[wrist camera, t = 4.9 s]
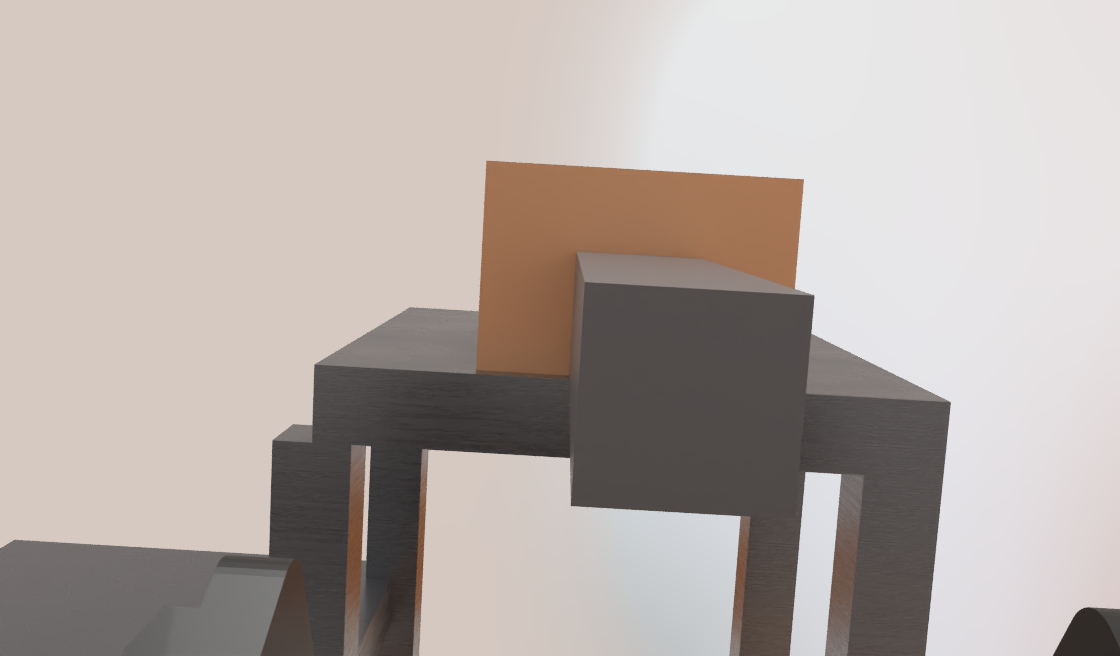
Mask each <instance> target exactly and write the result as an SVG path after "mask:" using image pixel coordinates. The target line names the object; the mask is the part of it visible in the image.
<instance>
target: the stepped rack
mask: <svg viewBox="0 0 1120 656" xmlns="http://www.w3.org/2000/svg"><path fill="white" fill-rule="evenodd" d="M478 320H479V312H477V311H461V310H444V309H427V308H408V309H407V310H405V311H403V312H402V313H400V314H398V315H397V316H395V317H393V318H392V319H390V320H388V321H387V322H385V323H383V324H382V325H380V326H378V327H377V328H375V329H374V330H372V331H370V332H368V333H367V334H365V335H363V336H362V337H360V338H358V339H357V340H355V341H353V342H351V343H350V344H348V345H347V346H345V347H343V348H341V349H340V350H338V351H336V352H335V353H333V354H331V355H330V356H328V357H326V358H325V359H323V360H321V361H320V362H318V363H316V364H315V368H314V397H313V426H312V425H311V426H310V425H294V424H293V425H292V426H290V427H289V428H288V429H287V430H285V431H284V432H283V433H281V434H280V435H279V436H277V437H276V438H275V439H274V440H273V444H272V478H271V511H270V546H269V555H258V554H243V553H226V552H209V551H192V550H175V549H158V548H141V547H125V546H124V547H123V546H108V545H91V544H90V545H89V544H73V543H57V542H40V541H23V540H14V541H12V542H10V543H9V544H7V545H5V546H4V547H2V548H0V656H121V655H122V653H123V651H124V648H125V647H126V646H127V645H128V644H129V643H130V642H131V641H132V640H133V639H134V638H135V637H136V636H137V635H138V634H139V632H140V631H141V630H142V629H143V628H144V627H145V626H146V625H147V624H148V623H149V622H150V621H151V620H152V619H153V618H154V617H155V615H156V614H157V613H158V612H159V611H160V610H161V609H162V608H163V607H164V606H174V607H191V608H200V607H201V604H202V601H203V599H204V596H205V594H206V591H207V588H208V586H209V583H210V581H211V578H212V575H213V573H214V570H215V568H216V566H217V564H218V562H219V561H220V560H221V558H222V557H224V556H225V555H238V556H255V557H272V558H290V559H298V560H299V562H300V564H301V567H302V573H303V580H304V587H305V593H306V600H307V607H308V614H309V621H310V627H311V634H312V641H313V649H314V656H419V642H420V621H421V600H422V599H421V598H422V578H423V556H424V534H425V511H426V490H427V488H426V487H427V467H428V450H445V451H462V452H479V453H495V454H496V453H497V454H513V455H529V456H547V457H565V458H570V404H569V376H568V375H551V374H534V373H518V372H501V371H484V370H476V360H477V340H478ZM950 405H951V403H950V402H949V401H947V400H945V399H943V398H941V397H939V396H937V395H935V394H933V393H931V392H929V391H927V390H925V389H923V388H921V387H919V386H917V385H914V384H912V383H910V382H909V381H906V380H904V379H902V378H900V377H898V376H896V375H894V374H892V373H890V372H888V371H886V370H884V369H882V368H880V367H878V366H876V365H874V364H872V363H869V362H868V361H865V360H863V359H862V358H860V357H858V356H855V355H853V354H851V353H849V352H847V351H845V350H843V349H841V348H839V347H837V346H835V345H833V344H831V343H829V342H827V341H825V340H823V339H821V338H819V337H817V336H815V335H812V334H811V342H810V353H809V365H808V377H807V388H806V400H805V411H804V423H803V435H802V446H801V458H800V470H799V481H798V493H797V504H796V516H795V519H783V518H766V517H749V516H741V520H740V532H739V545H738V557H737V570H736V582H735V583H736V584H735V595H734V608H733V620H732V632H731V645H730V656H789V655H790V643H791V632H792V620H793V609H794V597H795V586H796V573H797V563H798V551H799V540H800V527H801V517H802V505H803V494H804V482H805V472H818V473H833V474H842V475H841V486H840V497H839V508H838V519H837V531H836V541H835V552H834V563H833V575H832V586H831V598H830V609H829V619H828V630H827V641H826V652H825V656H925V651H926V641H927V631H928V622H929V612H930V602H931V591H932V582H933V572H934V563H935V562H934V561H935V553H936V542H937V533H938V523H939V513H940V504H941V493H942V484H943V474H944V464H945V454H946V445H947V435H948V434H947V433H948V425H949V414H950ZM366 446H371V460H370V485H369V510H368V535H367V537H368V538H367V561H361V558H362V555H361V554H362V532H363V529H362V528H363V507H364V481H365V455H366Z"/></svg>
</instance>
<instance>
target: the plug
mask: <svg viewBox="0 0 1120 656" xmlns="http://www.w3.org/2000/svg"><path fill="white" fill-rule="evenodd" d="M486 163H487V164H486V182H485V202H484V222H483V242H482V263H481V281H480V301H479V320H478V340H477V360H476V370H484V371H501V372H518V373H534V374H551V375H568V376H569V404H570V470H571V471H570V472H571V506H581V507H597V508H615V509H631V510H648V511H665V512H683V513H699V514H716V515H733V516H734V515H735V516H749V517H766V518H783V519H795V516H796V504H797V493H798V481H799V470H800V458H801V446H802V435H803V423H804V411H805V400H806V388H807V377H808V365H809V353H810V342H811V330H812V318H813V307H814V295H811V294H808V293H805V292H802V291H799V290H796V289H795V278H796V266H797V254H798V243H799V230H800V219H801V206H802V194H803V182H804V180H802V179H785V178H768V177H751V176H735V175H718V174H701V173H684V172H666V171H650V170H634V169H617V168H600V167H583V166H566V165H549V164H533V163H515V162H499V161H487V162H486Z"/></svg>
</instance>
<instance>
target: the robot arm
mask: <svg viewBox="0 0 1120 656" xmlns="http://www.w3.org/2000/svg"><path fill="white" fill-rule="evenodd" d="M121 656H314V649H313V641H312V634H311V627H310V621H309V614H308V607H307V600H306V593H305V587H304V580H303V573H302V567H301V564H300V562H299V560H298V559H290V558H272V557H255V556H238V555H225V556H224V557H222V558H221V560H220V561H219V562H218V564H217V566H216V568H215V570H214V573H213V575H212V578H211V581H210V583H209V586H208V588H207V591H206V594H205V596H204V599H203V601H202V604H201V607H200V608H191V607H174V606H164V607H163V608H162V609H161V610H160V611H159V612H158V613H157V614H156V615H155V617H154V618H153V619H152V620H151V621H150V622H149V623H148V624H147V625H146V626H145V627H144V628H143V629H142V630H141V631H140V632H139V634H138V635H137V636H136V637H135V638H134V639H133V640H132V641H131V642H130V643H129V644H128V645H127V646H126V647H125V648H124V651H123V653H122V655H121ZM1053 656H1120V609H1107V608H1089V607H1088V608H1083V609H1081V610H1079V611H1078V612H1077V613H1076V615H1075V616H1074V618H1073V620H1072V621H1071V623H1070V625H1069V627H1068V629H1067V631H1066V632H1065V634H1064V636H1063V638H1062V640H1061V642H1060V643H1059V645H1058V647H1057V649H1056V651H1055V653H1054V655H1053Z"/></svg>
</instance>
